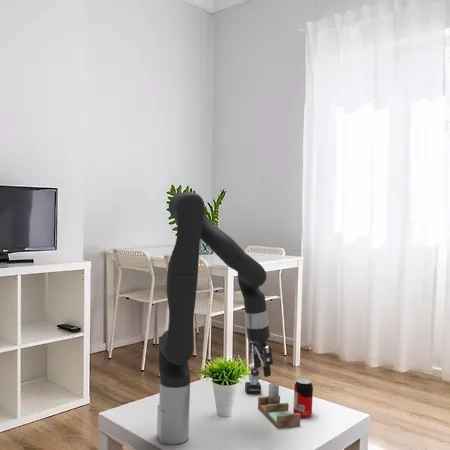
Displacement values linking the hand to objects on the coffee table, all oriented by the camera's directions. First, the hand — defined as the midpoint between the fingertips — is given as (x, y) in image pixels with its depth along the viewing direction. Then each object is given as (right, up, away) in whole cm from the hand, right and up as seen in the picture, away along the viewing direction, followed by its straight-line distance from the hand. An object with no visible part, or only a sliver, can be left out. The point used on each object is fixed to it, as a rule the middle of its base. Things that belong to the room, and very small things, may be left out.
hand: (262, 371), depth 169 cm
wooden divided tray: (+6, -17, +7) cm, 19 cm away
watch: (-2, -16, +29) cm, 33 cm away
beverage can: (+14, -18, +9) cm, 25 cm away
